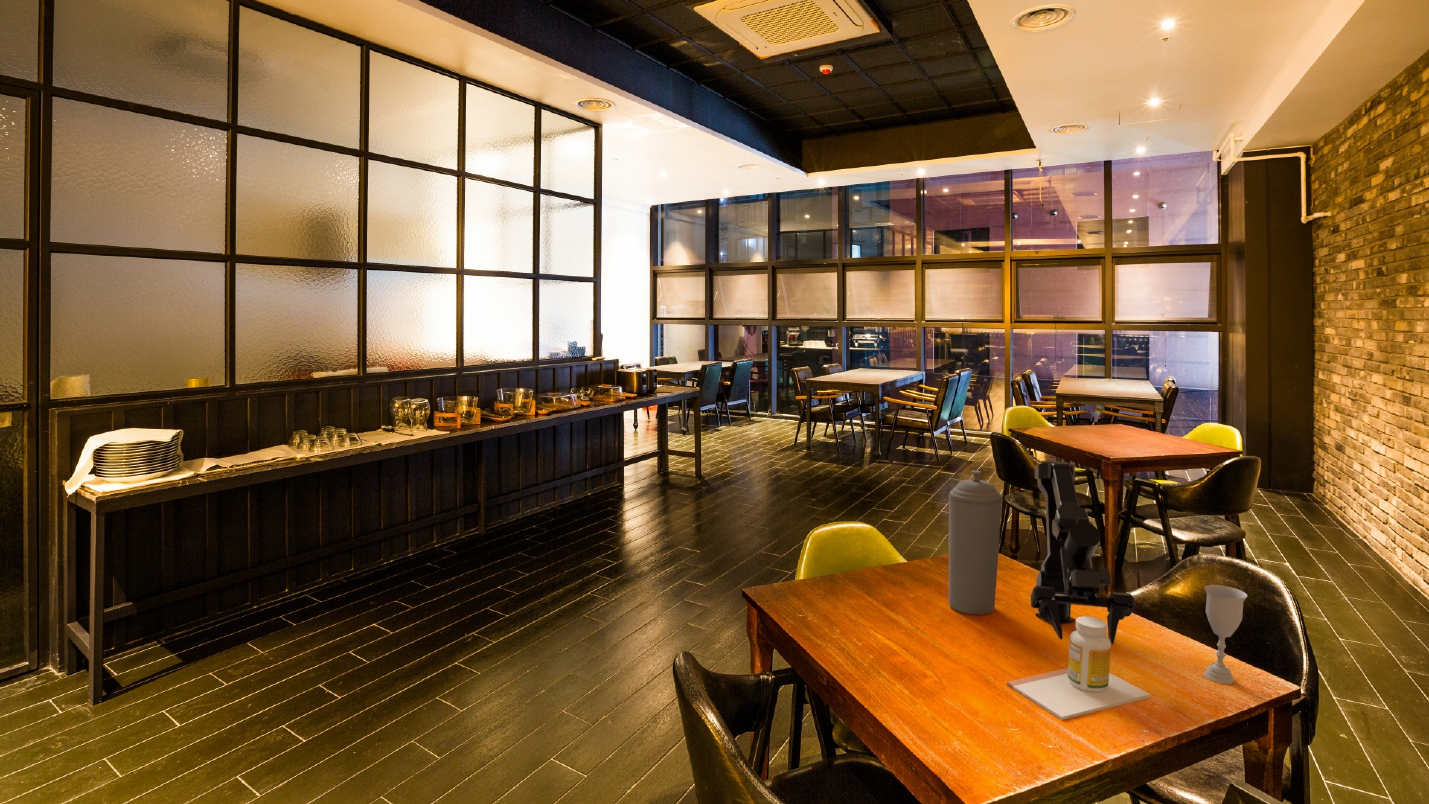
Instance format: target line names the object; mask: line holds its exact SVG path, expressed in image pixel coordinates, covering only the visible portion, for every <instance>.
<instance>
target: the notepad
mask: <svg viewBox="0 0 1429 804" xmlns="http://www.w3.org/2000/svg"><path fill="white" fill-rule="evenodd" d="M1006 685H1007V687H1009V688H1011V689H1012V688H1013V689H1012V690H1014V691H1016V692H1017V693H1019V694H1020V693H1021V694H1020V695H1022V696H1023V697H1025V698H1026V699H1028V700H1029V701H1030V702H1032V703H1034V704H1036V705H1037V706H1039V707H1040V708H1042V709H1043V710H1045V711H1047V712H1048V713H1049V714H1052V715H1053V716H1054V717H1056V718H1058V719H1059V720H1060V721H1063V720H1067V719H1068V720H1069V719H1072V718H1075V717H1079V716H1082V715H1087V714H1091V713H1095V712H1099V711H1102V710H1106V709H1110V708H1114V707H1117V706H1121V705H1126V704H1129V703H1133V702H1137V701H1141V700H1145V699H1149V698H1151V694H1150V693H1148V692H1146V691H1144V690H1143V689H1140V688H1139V687H1137V686H1136V685H1133V684H1131V683H1129V682H1127V681H1126V680H1123V679H1122V678H1120V677H1118V676H1116V675H1114V674H1112V673H1110V672H1109V683H1108V688H1107V689H1106V690H1105V691H1102V692H1089V691H1084V690H1081V689H1078V688H1076V687H1074V686H1073V685H1072V684H1071V683H1070V682H1069V681H1068V667H1066V668H1062V669H1057V670H1054V671H1048V672H1044V673H1040V674H1037V675H1031V676H1027V677H1023V678H1018V679H1014V680H1010V681H1006Z"/></svg>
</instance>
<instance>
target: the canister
mask: <svg viewBox="0 0 1429 804" xmlns="http://www.w3.org/2000/svg"><path fill="white" fill-rule="evenodd" d="M970 473H971V474H972V475H973V478H972V479H964V480H961V481H959V483H958V484H956V486H955V487H953V488H952V490H950V491H949V494H948V604H949V606H950V607H951V609H953V610H955V611H958V612H959V613H963V614H967V615H968V614H969V615H975V616H976V615H979V616H980V615H982V616H983V615H987V614H990V613H992V612H994V611H995V608H996V607H995V605H996V590H997V576H998V565H999V564H998V562H999V549H1000V533H1001V532H1000V531H1001V521H1002V520H1001V519H1002V518H1001V517H1002V505H1003V503H1002V502H1004V499H1003V497H1002V496H1003V495H1002V494H1001V493H1000V492H999V490H997V489H996V487H995V485H993V484H992V483H991V482H989V481H986V480H982V479H980V477H979V475H981V474H982V471H981V470H971V472H970Z"/></svg>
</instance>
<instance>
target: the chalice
mask: <svg viewBox="0 0 1429 804" xmlns="http://www.w3.org/2000/svg"><path fill="white" fill-rule="evenodd" d="M1204 591H1205V592H1206V603H1205V604H1206V605H1205V614H1206V616H1207V620H1208V622H1209V625H1210V627H1211V630H1212V632H1213V633H1214V634H1215V635H1216V636H1218V642H1217V643H1216V646H1217V648H1218V650H1217V652H1215V655H1216V656H1217V660H1216V662H1215V663H1211V664H1209V665H1208V667H1207V668H1206V671H1204V673H1203V676H1204V677H1206V678H1207V679H1208V680H1210V681H1213V682H1216V683H1219V684H1226V685H1227V684H1228V685H1230V684H1233V683H1235V680H1234V678H1233V674H1232V671H1231V670H1230V668H1229V667H1228V666H1226V665H1225V664H1224V659H1225V657H1227V655H1226V654H1225V649H1226V647H1227V645H1226V641H1225V640H1226V638H1230V637H1232V636H1233V634H1234V633H1235V632H1236V631H1237V630H1238V628H1239V626H1240V624H1241V622H1242V620H1243V611H1244V601H1245V600H1246V599H1247V598H1248V594H1247V593H1246V592H1244V591H1243V590H1240V589H1238V588H1236V587H1231V586H1226V585H1220V584H1209V585H1208V584H1207V585H1205V586H1204Z"/></svg>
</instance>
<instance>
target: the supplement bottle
mask: <svg viewBox="0 0 1429 804" xmlns="http://www.w3.org/2000/svg"><path fill="white" fill-rule="evenodd" d="M1106 634H1108V623H1107V621H1104V620H1103V619H1100V618H1097V617H1095V616H1084V615H1083V616H1078V617H1076V620H1075V630H1073V631H1072V632H1071V633H1070V635H1069V645H1068V661H1067V663H1068V664H1067V668H1068V681H1069V682H1070V683H1071V684H1072V685H1073V686H1074V687H1076V688H1078V689H1081V690H1084V691H1089V692H1102V691H1105V690H1106V689H1107V688H1108V683H1109V673H1110V669H1111V668H1110V665H1111V651H1112V645H1111V642H1110V640H1109V636H1107V635H1106Z"/></svg>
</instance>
